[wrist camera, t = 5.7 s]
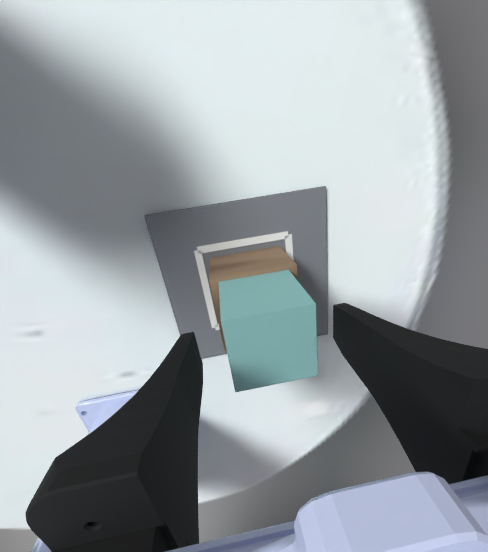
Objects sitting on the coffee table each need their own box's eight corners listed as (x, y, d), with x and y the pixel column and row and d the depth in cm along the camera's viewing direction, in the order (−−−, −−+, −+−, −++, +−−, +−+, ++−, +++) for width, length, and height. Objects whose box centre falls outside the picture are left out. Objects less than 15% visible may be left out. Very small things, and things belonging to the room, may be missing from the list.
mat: (326, 331, 21) (328, 334, 21) (188, 358, 21) (187, 362, 20) (324, 186, 17) (326, 186, 16) (145, 215, 16) (144, 216, 16)
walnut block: (284, 306, 20) (301, 336, 16) (222, 317, 19) (224, 351, 16) (279, 245, 18) (296, 264, 14) (209, 257, 17) (208, 280, 14)
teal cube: (292, 328, 16) (317, 375, 12) (229, 339, 15) (235, 392, 12) (288, 269, 14) (316, 303, 10) (218, 281, 14) (220, 320, 10)
